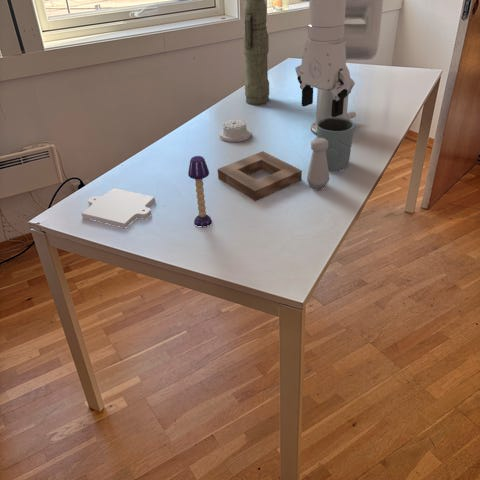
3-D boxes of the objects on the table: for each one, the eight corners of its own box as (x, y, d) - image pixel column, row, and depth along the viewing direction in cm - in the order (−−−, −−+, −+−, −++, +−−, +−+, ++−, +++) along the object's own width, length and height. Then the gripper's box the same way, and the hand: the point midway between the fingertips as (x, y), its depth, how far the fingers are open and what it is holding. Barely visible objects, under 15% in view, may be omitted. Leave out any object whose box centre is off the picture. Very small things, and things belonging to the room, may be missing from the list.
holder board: (263, 160, 139) (262, 151, 137) (301, 180, 128) (301, 170, 126) (218, 178, 131) (217, 169, 129) (255, 201, 121) (255, 191, 119)
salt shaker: (330, 182, 127) (334, 136, 119) (326, 192, 122) (329, 145, 115) (308, 179, 128) (310, 134, 121) (304, 190, 124) (305, 143, 116)
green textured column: (274, 96, 181) (273, -6, 161) (263, 107, 173) (261, 0, 152) (252, 94, 184) (248, -7, 164) (240, 105, 176) (235, 0, 155)
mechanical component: (216, 142, 151) (247, 143, 149) (215, 129, 149) (246, 130, 147) (223, 129, 159) (253, 130, 157) (222, 116, 156) (252, 117, 155)
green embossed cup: (328, 175, 130) (331, 134, 122) (307, 161, 137) (309, 121, 130) (358, 166, 133) (362, 125, 126) (336, 153, 140) (339, 113, 133)
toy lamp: (194, 217, 116) (186, 154, 106) (213, 215, 116) (207, 152, 106) (194, 228, 112) (186, 164, 102) (214, 226, 112) (208, 162, 103)
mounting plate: (164, 205, 122) (162, 198, 121) (134, 232, 113) (133, 225, 112) (107, 192, 129) (105, 186, 128) (75, 217, 119) (73, 210, 118)
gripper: (285, 30, 107) (285, 105, 117) (344, 42, 96) (337, 124, 105) (310, 24, 111) (307, 97, 120) (369, 35, 99) (360, 115, 109)
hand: (321, 110), depth 113 cm, fingers open, 9 cm apart
